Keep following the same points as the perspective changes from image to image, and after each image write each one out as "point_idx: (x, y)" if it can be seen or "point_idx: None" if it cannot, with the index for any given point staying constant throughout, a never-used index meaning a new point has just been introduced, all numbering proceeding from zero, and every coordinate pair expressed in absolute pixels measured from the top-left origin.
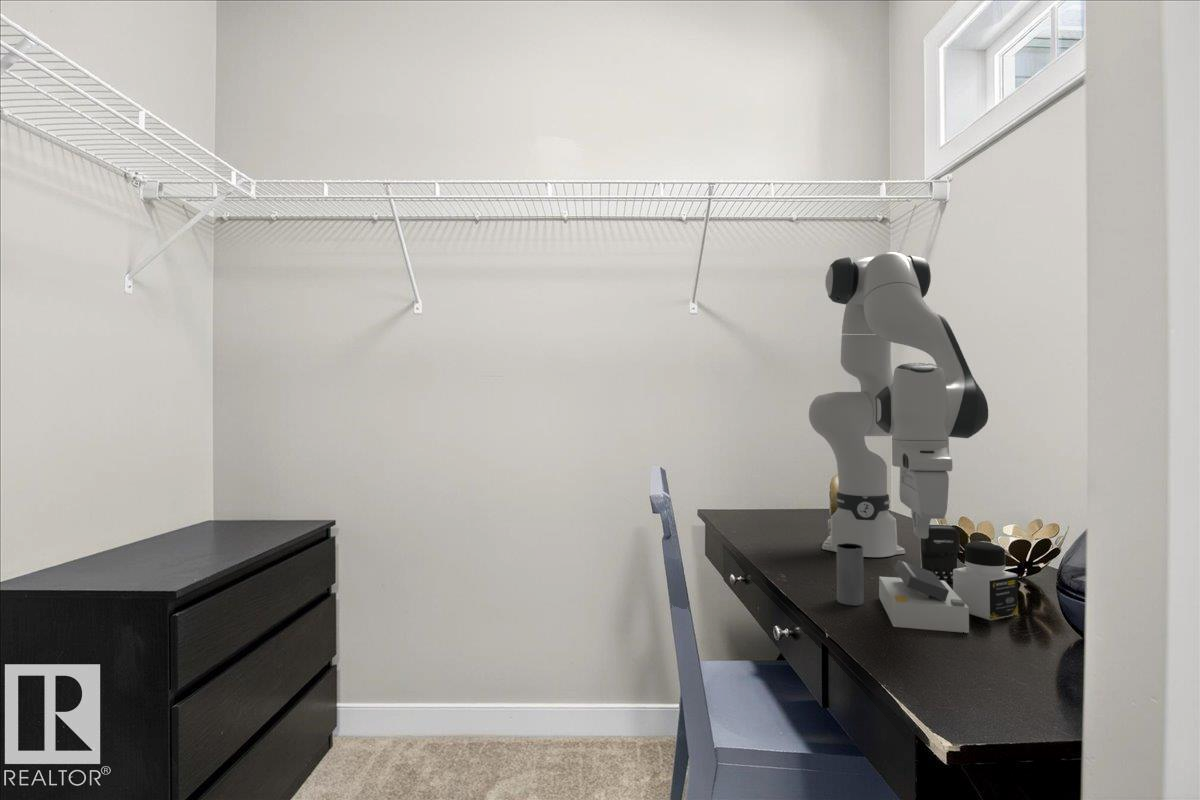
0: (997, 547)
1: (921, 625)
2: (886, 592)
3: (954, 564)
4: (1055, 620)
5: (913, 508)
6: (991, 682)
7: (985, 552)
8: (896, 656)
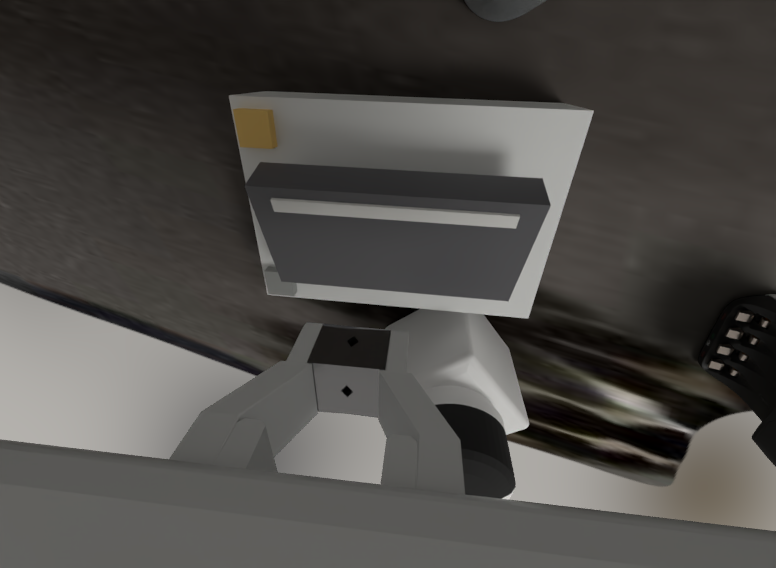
0: None
1: None
2: (389, 101)
3: (751, 399)
4: None
5: (23, 481)
6: (37, 218)
7: None
8: (37, 49)
